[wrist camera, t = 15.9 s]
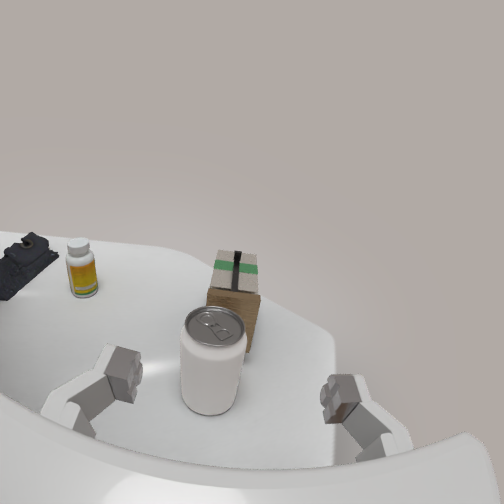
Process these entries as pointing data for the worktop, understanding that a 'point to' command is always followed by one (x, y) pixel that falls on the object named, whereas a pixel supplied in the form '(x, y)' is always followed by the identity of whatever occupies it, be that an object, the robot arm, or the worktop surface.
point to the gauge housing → (225, 271)
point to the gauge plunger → (237, 301)
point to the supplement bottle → (81, 268)
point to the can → (211, 358)
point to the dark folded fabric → (23, 263)
